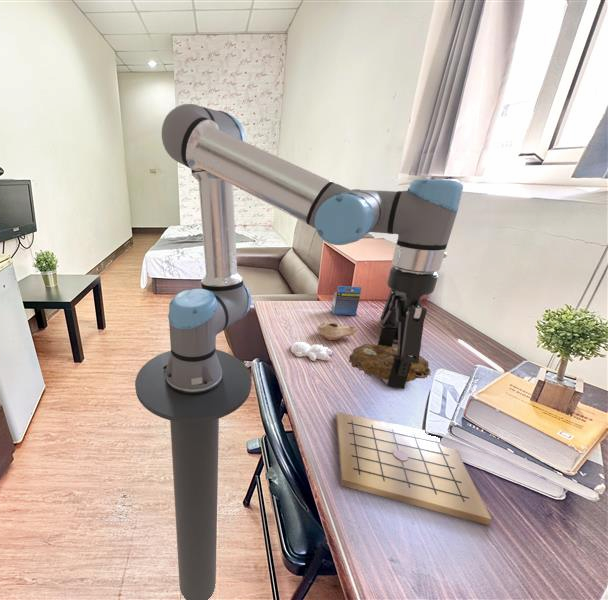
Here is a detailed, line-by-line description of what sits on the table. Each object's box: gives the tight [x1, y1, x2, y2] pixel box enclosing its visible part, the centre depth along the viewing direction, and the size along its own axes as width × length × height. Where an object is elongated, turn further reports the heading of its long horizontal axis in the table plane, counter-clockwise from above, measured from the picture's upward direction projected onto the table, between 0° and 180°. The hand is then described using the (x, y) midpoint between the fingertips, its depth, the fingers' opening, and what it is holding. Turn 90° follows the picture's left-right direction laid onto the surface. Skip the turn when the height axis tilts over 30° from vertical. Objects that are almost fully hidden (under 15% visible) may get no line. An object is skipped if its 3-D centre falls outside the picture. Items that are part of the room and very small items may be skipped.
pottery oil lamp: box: [317, 321, 357, 341], centre depth 105 cm, size 9×12×7 cm
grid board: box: [335, 411, 493, 526], centre depth 60 cm, size 22×18×2 cm
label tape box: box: [330, 285, 362, 316], centre depth 123 cm, size 9×4×12 cm, turn 83°
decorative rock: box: [348, 343, 432, 383], centre depth 65 cm, size 11×4×15 cm
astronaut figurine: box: [290, 341, 333, 362], centre depth 97 cm, size 9×12×3 cm
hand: (388, 369), depth 65 cm, fingers closed on decorative rock, 11 cm apart
